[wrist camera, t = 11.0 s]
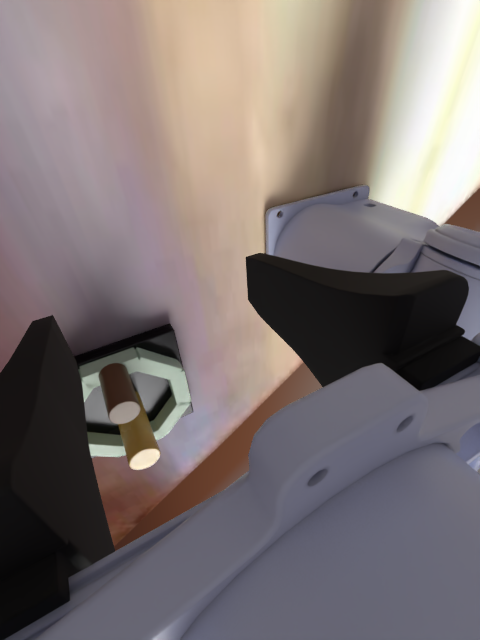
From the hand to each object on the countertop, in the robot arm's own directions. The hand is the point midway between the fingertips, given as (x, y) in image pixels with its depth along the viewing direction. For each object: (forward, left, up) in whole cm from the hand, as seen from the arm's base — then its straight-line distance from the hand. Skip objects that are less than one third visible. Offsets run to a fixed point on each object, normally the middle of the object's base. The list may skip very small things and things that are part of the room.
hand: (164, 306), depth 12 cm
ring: (+3, +13, -8) cm, 15 cm away
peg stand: (+3, +13, -9) cm, 16 cm away
